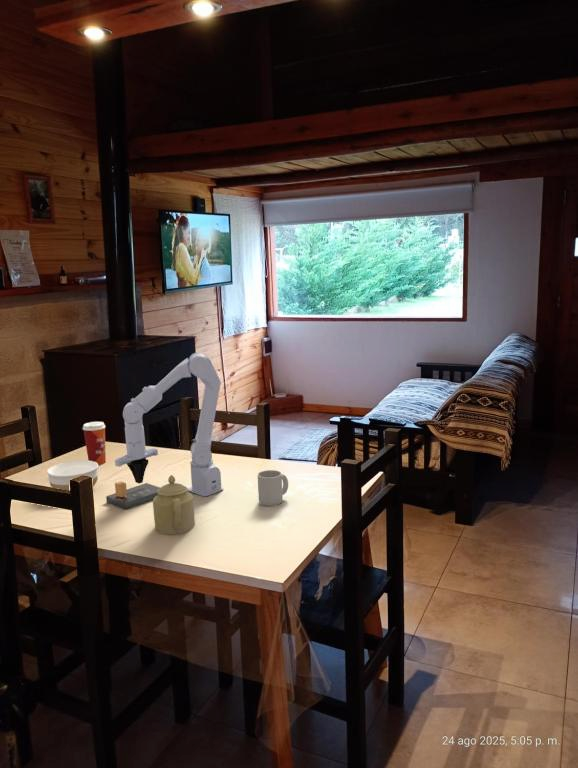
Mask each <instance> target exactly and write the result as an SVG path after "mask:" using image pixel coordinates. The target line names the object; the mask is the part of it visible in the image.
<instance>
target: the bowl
mask: <svg viewBox="0 0 578 768" xmlns="http://www.w3.org/2000/svg"><path fill="white" fill-rule="evenodd" d="M98 468H99V465H98V464H97V463H96V462H93V461H88V459H85V460H84V459H83V460H70V461H64V462H61V463H57V464H55V465H52V466H50V467H49V468H47V471H46V473H47V475H48V483H49V485H50V487H51V488H52V487H53V488H59V489H64V490H68V491H69V480H70V479H73V478H76V477H78V476H82V475H86V476H91V477H92V479H93V487H94V486H95V484H96V483H97V481H98V476H99V471H98ZM53 488H52V489H53Z"/></svg>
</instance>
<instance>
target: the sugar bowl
mask: <svg viewBox="0 0 578 768" xmlns="http://www.w3.org/2000/svg"><path fill="white" fill-rule="evenodd" d="M167 481H168V483H166V484H163V485H162V486H161V487H160V489H158V490H157V493H158V496H156V497H155V498H154V499H153V500H152V508H153V518H154V519H153V520H154V528H155V531H156V532H157V533H159V534H162V535H179V534H184V533H186V532H189V531H191V530H192V529H193V528H194V527H195V525H196V522H195V521H196V519H195V504H194V496H193V494H192V492H189V491H187V490H188V488H189V487H187V486H185V485H183V484H181V483H177V482H176V478H175V476H174V475H173V474H171V475H170V476H169V477H168V480H167Z"/></svg>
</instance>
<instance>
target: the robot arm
mask: <svg viewBox="0 0 578 768" xmlns="http://www.w3.org/2000/svg"><path fill="white" fill-rule="evenodd" d="M192 375H193V376H195V377H196V378H198V379H199V380H200V382H202V383H203V385H204V389H203V390H204V391H203V396H202V401H201V407H200V413H199V420H198V425H197V431H196V434H195V438H194V441H193V442H192V443H191V445H190V453H191V461H190V462H189V463H190V480H191V487H187V488H188V490H187V492H189V493H193V494H196V495H199V496H202V497H208V496H210V495H213V494H215V493H219V492H221V491H223V490H224V488H223V487H222V478H221V477H222V476H221V474H222V473H221V469H220V468H218V467H217V466H215V463H214V460H213V459H212V458H213V455H212V451H211V447H212V434H213V429H214V423H215V418H216V412H217V406H218V401H219V395H220V394H219V393H220V388H221V379H220V378H219V375H218V373H217V370H216V369H215V366H214V364H213V363H212V361H211V360H210V359H209V358H208V357H207V355H206V354H204V353H203V352H197V351H196V352H194V353H192V354H191V355H190V356H189V358H188V357H186V358H185V359H184V360H182V361H181V362H180V363H178V365H176V366H175V367H174V368H173V369H172V370H171V371H170V372H168V374H167V375H166V376H165V377H164V378H162V379H161V380H160V381H159V382H158V383H157V384H156V385H148V386H144V387H143V388H142V391H141V392H140V393H139V394H138V395H136V396H135V398H134V397H132V398H131V399H130V402H127V403H126V405H125V406H124V407H123V411H122V418H123V420H124V434H125V445H126V447H125V448H126V454H125V455H123V456H121V457H119V458H116V459H114V463H115V466H116V467H119V468H121V467H122V466H123V465H126V466H127V467H128V468H129V470H130V472H131V473H132V476H133V479H134V482H135V483H136V484H138V485H141V484H144V483H143V482H144V477H145V472H146V469H147V467H148V465H149V459H147V458H151V457H155V456H158V455H159V451H158V449H157V448H150V449H147V448H146V437H145V430H144V429H145V428H144V425H143V424H144V423H143V415H144V414H146V413H148V412H149V411H150V410H152V409H153V408H154V407H155V406H156V405H157V404H159V403H160V401H162V399H163V394H164V393H165V392H166V391H168V390H169V389H170V388H171V387H172V386H173V385H175V384H176V383H177V382H178V381H180V380H181V379H183V378H192Z"/></svg>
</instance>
